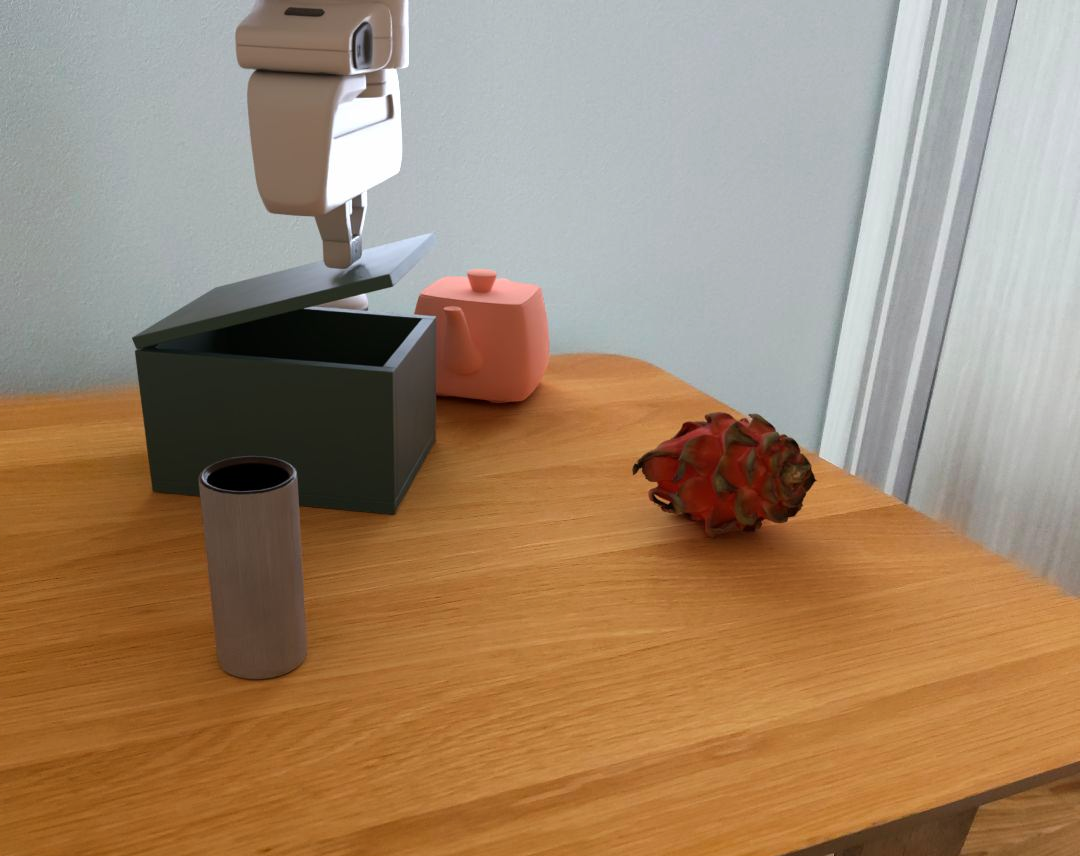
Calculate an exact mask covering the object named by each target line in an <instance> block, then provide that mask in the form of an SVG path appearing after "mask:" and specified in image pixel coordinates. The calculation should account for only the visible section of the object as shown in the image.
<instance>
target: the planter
mask: <svg viewBox="0 0 1080 856" xmlns="http://www.w3.org/2000/svg"><path fill="white" fill-rule="evenodd" d="M199 489H200V496H199V498H200V508H201V518H202V527H203V536H204V547H205V556H206V566H207V574H208V585H209V596H210V603H211V604H210V605H211V613H212V623H213V633H214V642H215V651H216V657H217V658H216V659H217V662H218V665H219V666H220V668H221V669H222V670H223V671H225V672H226V673H227V674H229V675H230V676H234V677H237V678H241V679H247V680H264V679H272V678H275V677H279V676H283V675H286V674H288V673H290V672H292V671H294V670H295V669H297V668H298V667H299V666H301V665H302V663H303V662H304V661H305V660H306V657H307V654H308V642H307V641H308V638H307V636H308V635H307V621H306V605H305V604H306V603H305V587H304V585H305V584H304V569H303V568H304V567H303V552H302V534H301V533H302V532H301V517H300V506H299V497H298V480H297V472H296V470H295V468H294V467H293V466H292V465H290V464H289V463H287V462H285V461H283V460H279V459H276V458H271V457H262V456H244V457H235V458H230V459H225V460H222V461H219V462H216V463H214V464H211V465H210V466H208V467H206V468H205V469H204V470H203V471H202V472H201V473H200V475H199Z"/></svg>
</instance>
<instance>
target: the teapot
mask: <svg viewBox="0 0 1080 856" xmlns="http://www.w3.org/2000/svg"><path fill="white" fill-rule="evenodd" d="M466 275H467V276H457V275H456V276H454V275H450V276H449V275H448V276H443V277H441V278H439V279H437V280H435V281H434V282H433V283H431V284H430V285H428V286H427V287H425V288H424V289H423V290H422V291H421V292H420V293H418V297H417V301H416V305H415V307H414V308H415V310H414V312H413V314H414V315H427V316H436V396H439V397H456V398H457V397H458V398H466V399H473V400H485V401H487V402H489V403H493V404H504V403H508V402H522V401H524V400H526V399H527V398H528V397H530V396H531V394H533V392H534V391H535V390H536V389H537V388H538V386H539V385H540V383H541V381H542V380H543V378H544V375H545V373H546V371H547V368H548V365H549V361H550V331H549V322H548V316H547V310H546V304H545V299H544V295H543V290H542V288H541V286H540V285H537V284H533V283H525V282H518V281H511V280H510V279H508V278H504V277H500V278H497V276H498V273H497V272H496V271H495V270H492V269H488V268H472V269H469V270H468V271H466Z"/></svg>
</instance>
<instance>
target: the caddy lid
mask: <svg viewBox="0 0 1080 856" xmlns="http://www.w3.org/2000/svg"><path fill="white" fill-rule="evenodd" d="M438 243H439V240H438V237H437V234H436V232H435V231H432V232H428V233H425V234H420V235H417V236H413V237H409V238H405V239H401V240H398V241H394V242H390V243H384V244H382V245H378V246H374V247H368V248H366V249H362V256H361V258H360V259H359V260H357V261H356V262H354V263H353V264H352V265H351V266H350V267H348V268H347V269H336V268H329V267H327V266H326V265H325V263H324V260H323V259H322V260H318V261H314V262H310V263H307V264H303V265H299V266H295V267H291V268H288V269H283V270H280V271H275V272H271V273H267V274H263V275H259V276H255V277H251V278H248V279H243V280H240V281H236V282H231V283H227V284H224V285H219V286H216V287H214V288H212V289H210V290H209V291H207V292H206V293H204V294H202V295H201V296H199V297H197V298H195V299H193V300H192V301H190V302H189V303H187V304H186V305H184V306H182V307H180V308H179V309H177V310H176V311H173V312H172V313H170V314H169V315H167V316H166V317H163V318H162V319H161V320H158V321H156V322H155V323H154V324H152V325H151V326H148V327H147V328H145V329H144V330H142V331H140V332H139V333H137V334H135V335H134V336H132V338H131V340H132V343H133V345H134V347H135V350H137V349H140V348H144V347H148V346H153V345H157V344H161V343H165V342H169V341H173V340H177V339H181V338H185V337H189V336H193V335H198V334H202V333H206V332H210V331H214V330H218V329H222V328H226V327H230V326H234V325H238V324H243V323H247V322H251V321H255V320H259V319H263V318H267V317H271V316H275V315H279V314H284V313H288V312H292V311H296V310H300V309H304V308H308V307H312V306H316V305H320V304H324V303H329V302H333V301H337V300H341V299H345V298H349V297H353V296H357V295H361V294H365V295H366V294H369V293H374V292H377V291H381V290H386V289H389V288H393V287H394V286H395V285H396V284H398V282H399V281H400V280H401V279H403V277H404V276H406V274H407V273H409V271H411V270H412V269H413V268H414V267H415V266H416V265H417V264H418V263H419V262H420V261H421V260H422V259H423V258H424V257H425V256H427V254H428V253H429V252H430V251H431V250H432V249H433V248H434V247H435V246H436V245H438Z"/></svg>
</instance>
